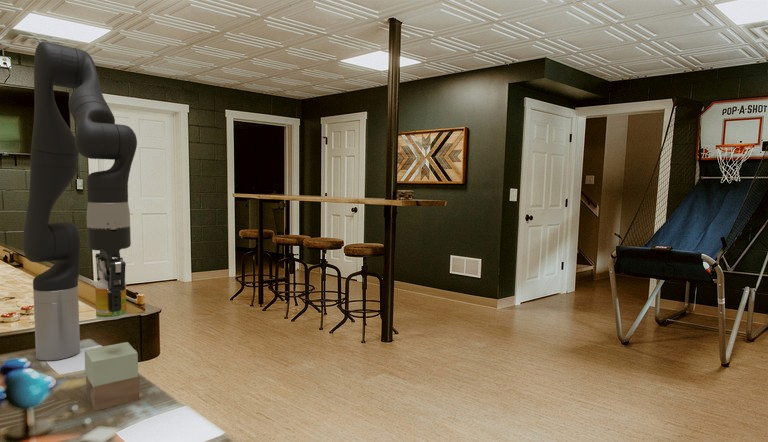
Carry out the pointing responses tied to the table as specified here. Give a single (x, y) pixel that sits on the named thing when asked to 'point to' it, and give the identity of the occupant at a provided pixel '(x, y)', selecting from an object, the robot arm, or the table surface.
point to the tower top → (111, 363)
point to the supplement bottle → (102, 301)
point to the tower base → (112, 393)
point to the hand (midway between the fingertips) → (111, 307)
